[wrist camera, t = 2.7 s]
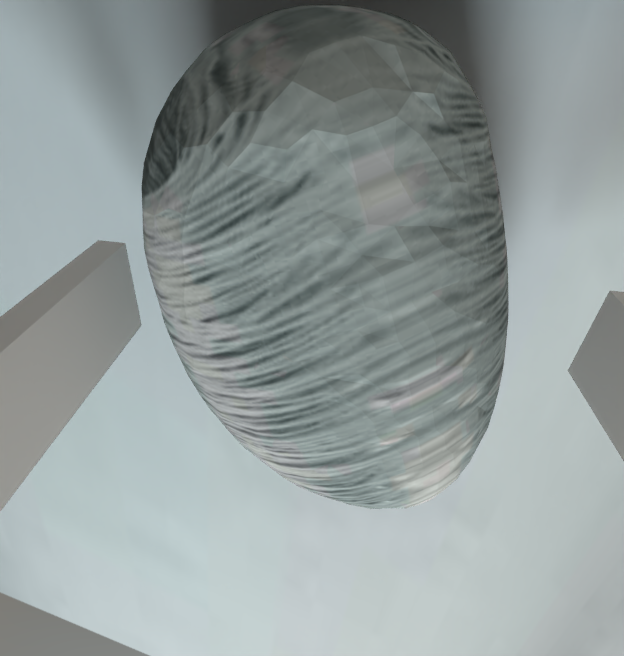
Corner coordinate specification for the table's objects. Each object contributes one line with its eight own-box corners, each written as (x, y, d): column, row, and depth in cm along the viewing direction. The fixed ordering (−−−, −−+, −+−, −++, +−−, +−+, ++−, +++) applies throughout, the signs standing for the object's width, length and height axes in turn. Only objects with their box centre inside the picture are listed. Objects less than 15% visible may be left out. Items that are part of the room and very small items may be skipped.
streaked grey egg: (21, 39, 10) (-1, 282, 3) (379, -67, 12) (828, -41, 5) (215, 377, 20) (304, 603, 13) (391, 295, 22) (546, 459, 15)
